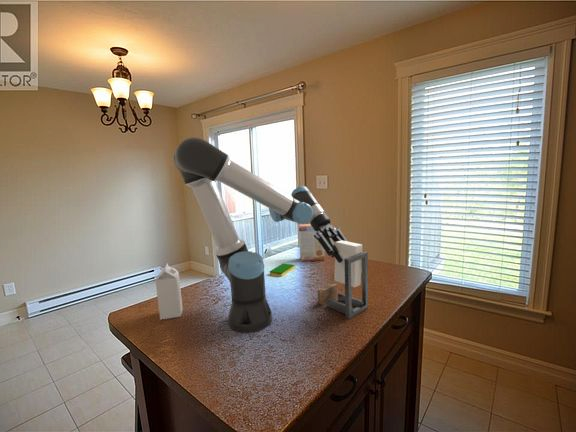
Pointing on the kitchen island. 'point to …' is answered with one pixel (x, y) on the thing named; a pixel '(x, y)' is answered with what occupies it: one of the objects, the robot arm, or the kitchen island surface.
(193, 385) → the kitchen island surface
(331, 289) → the offcut stack
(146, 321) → the kitchen island surface
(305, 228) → the cracker box
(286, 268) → the dish sponge
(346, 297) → the frame
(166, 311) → the milk carton
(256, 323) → the robot arm
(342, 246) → the white block
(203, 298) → the kitchen island surface
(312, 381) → the kitchen island surface
